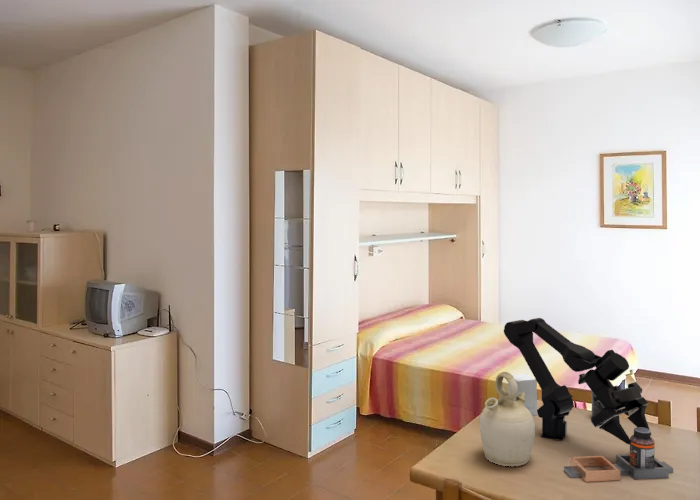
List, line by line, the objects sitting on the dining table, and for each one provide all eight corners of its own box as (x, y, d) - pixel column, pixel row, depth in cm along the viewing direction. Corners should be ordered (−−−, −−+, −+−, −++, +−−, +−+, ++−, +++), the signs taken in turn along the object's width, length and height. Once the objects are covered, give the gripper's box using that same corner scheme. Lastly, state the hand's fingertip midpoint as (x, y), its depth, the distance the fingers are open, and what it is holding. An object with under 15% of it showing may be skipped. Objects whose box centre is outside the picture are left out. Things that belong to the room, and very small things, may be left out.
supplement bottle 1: (616, 422, 186) (616, 386, 186) (593, 421, 188) (594, 386, 187) (610, 415, 193) (611, 380, 192) (589, 414, 194) (589, 379, 194)
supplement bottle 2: (624, 466, 156) (625, 426, 155) (645, 464, 156) (646, 424, 155) (637, 476, 150) (638, 434, 149) (659, 475, 150) (659, 433, 149)
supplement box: (537, 415, 194) (537, 379, 194) (517, 417, 193) (517, 381, 192) (527, 408, 202) (527, 373, 201) (507, 410, 200) (507, 374, 199)
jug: (492, 472, 154) (492, 382, 152) (471, 449, 169) (470, 366, 167) (545, 467, 156) (545, 378, 154) (519, 444, 171) (519, 363, 169)
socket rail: (574, 482, 147) (574, 473, 147) (559, 466, 156) (559, 457, 156) (679, 477, 149) (679, 467, 148) (658, 461, 158) (658, 452, 158)
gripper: (600, 380, 151) (640, 433, 143) (641, 368, 161) (680, 417, 152) (575, 401, 158) (611, 453, 150) (615, 388, 168) (652, 437, 159)
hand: (640, 439), depth 153 cm, fingers open, 9 cm apart
